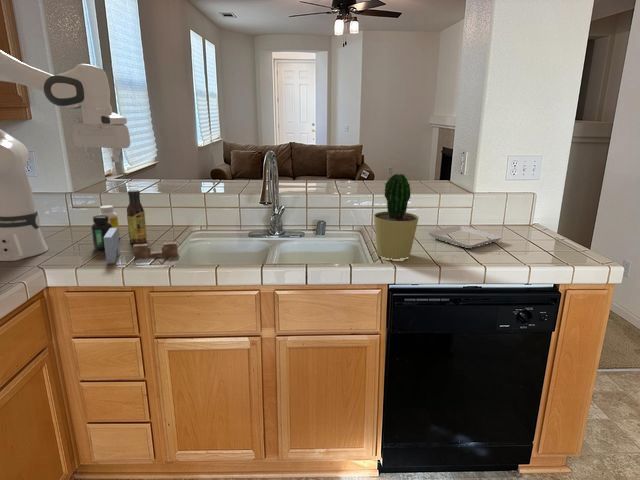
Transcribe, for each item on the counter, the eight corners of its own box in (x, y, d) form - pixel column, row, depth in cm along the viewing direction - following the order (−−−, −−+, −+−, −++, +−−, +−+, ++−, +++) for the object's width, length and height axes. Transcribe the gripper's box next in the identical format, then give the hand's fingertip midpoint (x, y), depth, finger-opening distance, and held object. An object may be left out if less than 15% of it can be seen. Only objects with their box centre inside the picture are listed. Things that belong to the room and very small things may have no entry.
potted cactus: (410, 250, 161) (417, 169, 153) (419, 264, 147) (427, 175, 138) (369, 249, 161) (373, 168, 153) (374, 263, 147) (378, 175, 138)
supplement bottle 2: (102, 252, 154) (97, 219, 150) (90, 249, 157) (85, 217, 153) (118, 247, 159) (115, 215, 156) (106, 244, 162) (102, 213, 159)
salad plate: (502, 244, 171) (503, 236, 170) (469, 253, 160) (470, 244, 159) (458, 232, 188) (459, 224, 187) (425, 239, 176) (426, 231, 175)
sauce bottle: (141, 244, 163) (135, 192, 157) (126, 243, 164) (119, 191, 158) (150, 239, 169) (145, 189, 163) (136, 238, 170) (130, 188, 164)
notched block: (134, 259, 147) (133, 246, 146) (135, 256, 149) (134, 244, 148) (177, 255, 151) (176, 243, 150) (177, 253, 153) (176, 241, 152)
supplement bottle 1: (120, 235, 174) (117, 204, 170) (119, 240, 168) (115, 207, 164) (102, 236, 172) (98, 205, 168) (100, 241, 166) (95, 208, 162)
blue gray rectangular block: (106, 263, 142) (103, 237, 140) (113, 252, 153) (109, 228, 151) (114, 263, 143) (111, 237, 140) (120, 252, 154) (117, 227, 152)
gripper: (64, 118, 140) (71, 161, 144) (116, 118, 134) (122, 163, 138) (80, 117, 145) (86, 159, 149) (130, 118, 140) (135, 161, 144)
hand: (104, 161), depth 144 cm, fingers open, 8 cm apart
